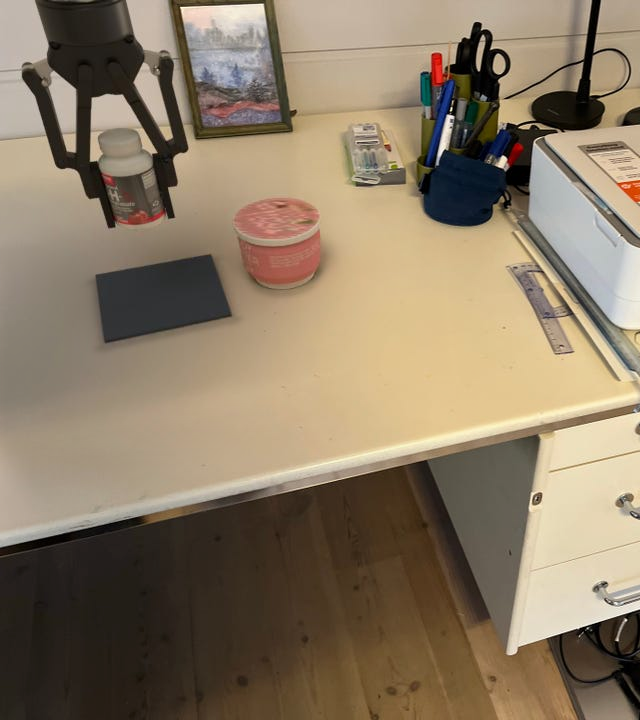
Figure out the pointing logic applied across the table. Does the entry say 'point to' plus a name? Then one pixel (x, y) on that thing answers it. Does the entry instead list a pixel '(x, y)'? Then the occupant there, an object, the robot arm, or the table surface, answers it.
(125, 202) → the pill bottle
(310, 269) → the container
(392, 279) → the table surface
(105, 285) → the mat
